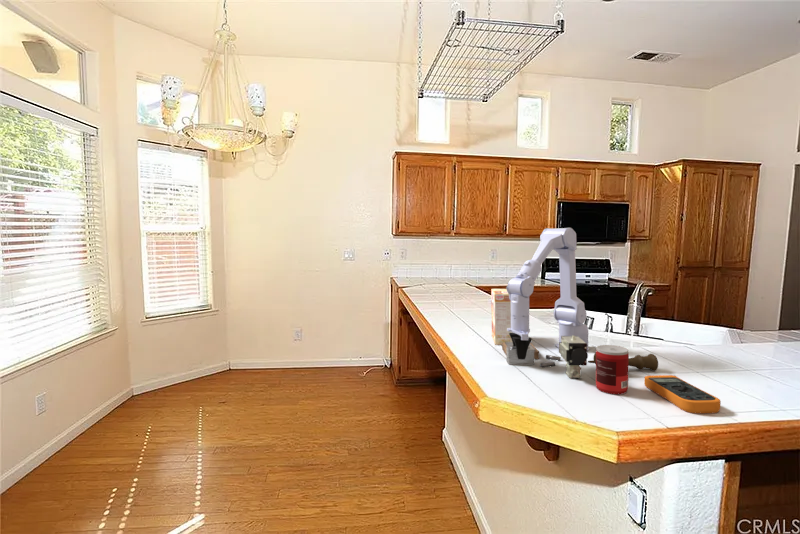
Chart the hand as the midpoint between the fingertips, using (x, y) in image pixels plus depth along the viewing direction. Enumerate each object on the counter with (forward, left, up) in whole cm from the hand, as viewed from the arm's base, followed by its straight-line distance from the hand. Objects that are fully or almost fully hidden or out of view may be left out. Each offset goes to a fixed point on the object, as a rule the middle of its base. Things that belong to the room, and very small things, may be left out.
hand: (520, 356), depth 134 cm
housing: (0, 0, -2) cm, 2 cm away
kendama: (-28, +7, -2) cm, 29 cm away
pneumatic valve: (-12, +13, -2) cm, 18 cm away
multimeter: (-33, +29, -2) cm, 44 cm away
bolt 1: (-11, -3, -2) cm, 12 cm away
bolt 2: (-8, +4, -2) cm, 9 cm away
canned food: (-19, +23, -2) cm, 30 cm away
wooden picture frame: (-2, -10, -2) cm, 10 cm away
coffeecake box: (+1, -29, -2) cm, 29 cm away
